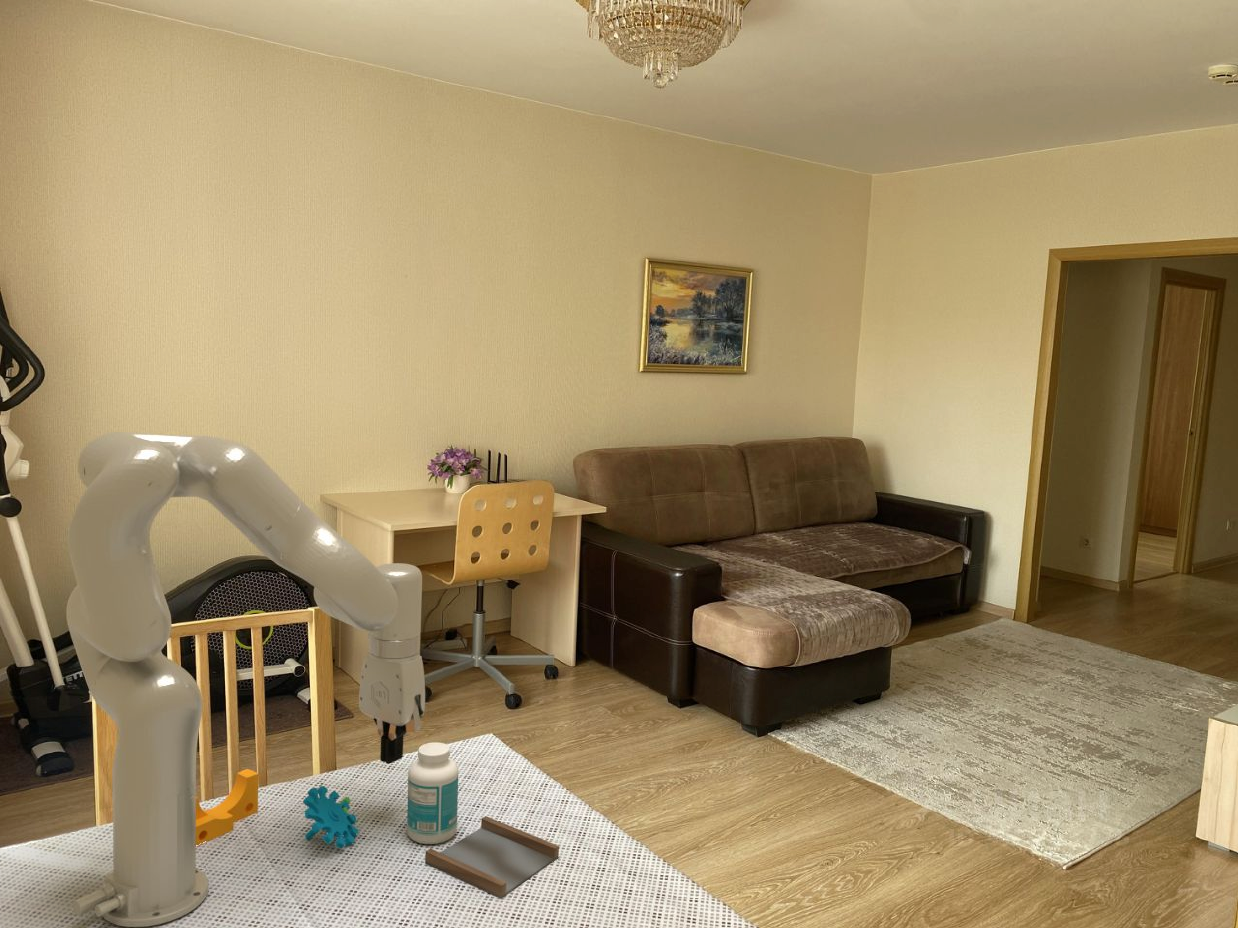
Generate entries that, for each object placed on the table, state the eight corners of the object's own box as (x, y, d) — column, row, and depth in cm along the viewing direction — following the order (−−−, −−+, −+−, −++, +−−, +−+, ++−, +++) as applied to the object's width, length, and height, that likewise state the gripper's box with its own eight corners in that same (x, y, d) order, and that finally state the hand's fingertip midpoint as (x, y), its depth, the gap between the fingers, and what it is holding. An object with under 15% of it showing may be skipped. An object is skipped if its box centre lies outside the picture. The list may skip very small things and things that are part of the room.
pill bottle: (447, 817, 146) (450, 734, 144) (463, 840, 139) (467, 753, 138) (400, 827, 142) (402, 742, 140) (415, 850, 135) (418, 762, 134)
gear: (341, 852, 131) (298, 795, 132) (310, 878, 131) (269, 821, 133) (374, 825, 142) (334, 772, 143) (346, 848, 142) (307, 796, 144)
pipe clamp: (193, 849, 133) (193, 806, 132) (175, 839, 135) (175, 797, 134) (265, 816, 143) (265, 776, 142) (247, 807, 145) (247, 768, 145)
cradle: (501, 898, 125) (501, 885, 125) (425, 863, 132) (425, 851, 132) (558, 857, 136) (559, 845, 136) (485, 826, 143) (485, 815, 143)
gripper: (342, 640, 143) (339, 754, 145) (412, 662, 135) (409, 782, 137) (378, 629, 149) (375, 739, 151) (448, 649, 141) (444, 764, 143)
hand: (391, 759), depth 144 cm, fingers closed
